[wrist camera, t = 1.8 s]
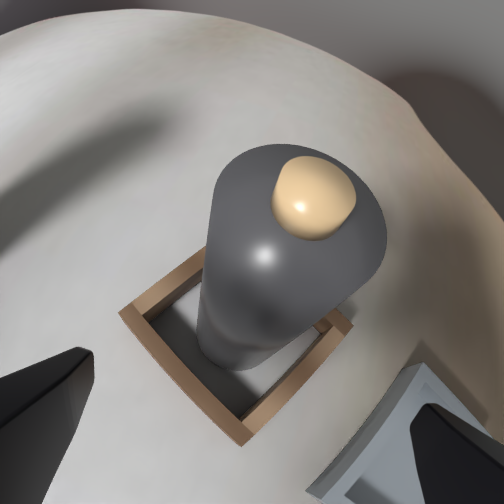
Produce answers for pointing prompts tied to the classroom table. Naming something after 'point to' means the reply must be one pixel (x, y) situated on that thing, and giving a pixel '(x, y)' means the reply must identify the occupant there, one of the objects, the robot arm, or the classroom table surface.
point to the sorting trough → (387, 445)
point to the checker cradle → (237, 429)
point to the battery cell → (282, 250)
